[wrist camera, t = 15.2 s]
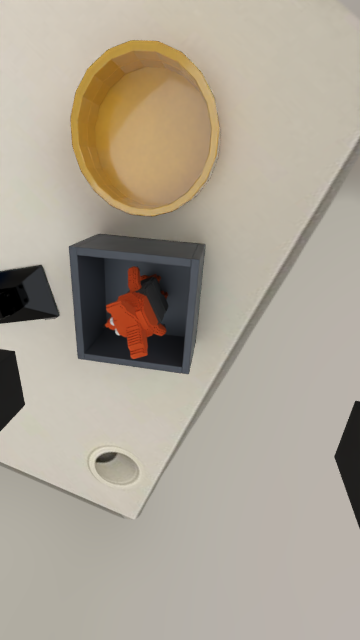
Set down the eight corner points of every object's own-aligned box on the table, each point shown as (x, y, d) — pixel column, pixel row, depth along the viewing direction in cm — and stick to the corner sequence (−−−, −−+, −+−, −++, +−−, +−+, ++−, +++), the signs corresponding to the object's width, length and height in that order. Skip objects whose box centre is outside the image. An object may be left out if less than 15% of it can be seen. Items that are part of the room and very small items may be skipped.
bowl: (228, 62, 28) (228, 42, 24) (212, 216, 34) (209, 221, 30) (87, 57, 30) (64, 37, 26) (93, 206, 35) (76, 209, 31)
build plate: (42, 264, 39) (20, 275, 35) (61, 317, 42) (42, 332, 38) (-41, 277, 42) (-71, 288, 37) (-18, 326, 44) (-43, 342, 40)
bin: (205, 244, 35) (199, 259, 28) (195, 341, 40) (188, 374, 34) (98, 233, 36) (68, 246, 30) (102, 329, 42) (77, 358, 35)
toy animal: (112, 268, 37) (65, 305, 27) (153, 252, 36) (120, 284, 25) (140, 326, 40) (108, 380, 29) (179, 313, 39) (160, 365, 28)
